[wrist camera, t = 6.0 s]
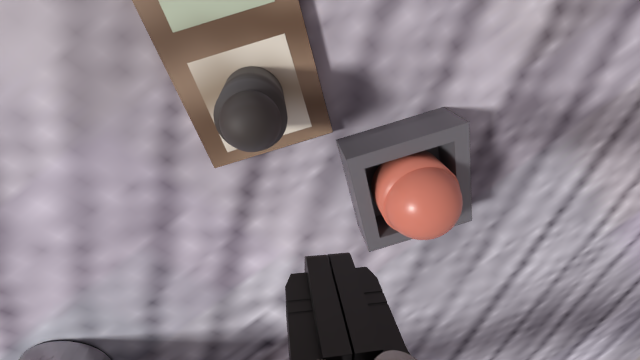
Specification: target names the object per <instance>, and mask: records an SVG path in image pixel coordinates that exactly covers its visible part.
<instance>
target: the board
mask: <svg viewBox="0 0 640 360" xmlns="http://www.w3.org/2000/svg"><path fill="white" fill-rule="evenodd" d="M132 1H133V3H134V5H135V7H136V9H137V11H138V13H139V15H140V17H141V19H142V21H143V23H144V26H145V28H146V30H147V32H148V34H149V36H150V38H151V40H152V42H153V44H154V46H155V48H156V50H157V52H158V54H159V56H160V58H161V60H162V62H163V64H164V66H165V68H166V70H167V72H168V74H169V76H170V78H171V80H172V82H173V84H174V86H175V89H176V91H177V93H178V95H179V97H180V99H181V101H182V103H183V105H184V107H185V109H186V111H187V113H188V115H189V117H190V119H191V121H192V123H193V125H194V127H195V129H196V131H197V133H198V135H199V137H200V139H201V141H202V143H203V145H204V147H205V149H206V152H207V154H208V156H209V158H210V160H211V162H212V164H213V166H214V168H217V167H220V166H224V165H227V164H230V163H233V162H237V161H240V160H243V159H246V158H250V157H253V156H256V155H260V154H263V153H266V152H269V151H273V150H276V149H279V148H282V147H286V146H289V145H292V144H296V143H299V142H302V141H305V140H309V139H312V138H315V137H318V136H322V135H325V134H328V133H331V132H333V131H332V127H331V123H330V120H329V116H328V112H327V108H326V104H325V100H324V97H323V93H322V89H321V85H320V81H319V77H318V74H317V70H316V66H315V62H314V58H313V54H312V50H311V47H310V43H309V39H308V35H307V31H306V27H305V24H304V20H303V16H302V12H301V8H300V4H299V1H298V0H132ZM247 66H256V67H261V68H264V69H266V70H268V71H269V72H271V73H272V74H273V75H274V76H275V77H276V78H277V79H278V81H279V82H280V84H281V86H282V89H283V93H284V99H285V104H286V109H287V116H288V121H287V127H286V130H285V132H284V134H283V136H282V138H281V139H280V140H279V141H278V142H277V143H276V144H275V145H273V146H272V147H270V148H268V149H265V150H262V151H258V152H245V151H241V150H238V149H236V148H235V147H233V146H231V145H230V144H228V143H227V142H226V141H225V140H224V139H223V138H222V137H221V136H220V134H219V133H218V131H217V129H216V126H215V123H214V116H213V114H214V106H215V103H216V101H217V99H218V97H219V95H220V93H221V91H222V89H223V87H224V85H225V83H226V81H227V79H228V78H229V76H230V75H231V74H232V73H233V72H235V71H236V70H238V69H240V68H243V67H247Z"/></svg>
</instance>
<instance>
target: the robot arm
mask: <svg viewBox="0 0 640 360" xmlns="http://www.w3.org/2000/svg"><path fill="white" fill-rule="evenodd" d="M285 290H286V317H287V332H288V345H289V359H290V360H416V359H415V358H414V357H412V356H411V355H410V353H409V352H408V350H407V348H406V346H405V344H404V342H403V339H402V337H401V334H400V332H399V329H398V327H397V325H396V322H395V320H394V317H393V315H392V313H391V310H390V308H389V305H387V301H386V298H385V296H384V293H383V292H382V289H381V286H380V284H379V281H378V279H377V277H376V276H375V275H374V274H373V273H372V272H371V271H370V270H369V269H368V268H367V267H360V268H355V266H354V263H353V260H352V257H351V255H350V253H339V254H328V255H317V256H305V273H296V274H291V275H290V277H289V279H288V282H287V284H286V286H285ZM19 360H111V359H110V358H109V357H108V356H107V355H106V354H105V353H103V352H102V351H100V350H98V349H96V348H94V347H92V346H89V345H85V344H82V343H77V342H70V341H55V342H47V343H43V344H39V345H36V346H34V347H31V348H30V349H28V350H27V351H25V352H24V354H23V355H22V356H21V357H20V359H19Z"/></svg>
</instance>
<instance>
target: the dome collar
mask: <svg viewBox="0 0 640 360" xmlns="http://www.w3.org/2000/svg"><path fill="white" fill-rule="evenodd" d="M336 141H337V145H338V149H339V153H340V157H341V160H342V164H343V168H344V172H345V176H346V180H347V184H348V187H349V191H350V195H351V199H352V203H353V207H354V211H355V215H356V218H357V222H358V226H359V228H360V231H361V233H362V236H363V238H364V240H365V243H366V245H367V248H368V250H369V252H371V251H374V250H377V249H381V248H384V247H387V246H390V245H394V244H397V243H400V242H404V241H407V240H410V239H412V238H409V237H407V236H404V235H402V234H401V233H399V232H398V231H396V230H394V229H393V228H391V227H390V226H389V225H388V224H387V223H386V221H385V220H384V218H383V216H382V214H381V212H380V210H379V209H378V207H377V205H376V203H375V201H374V199H373V197H372V194H371V182H372V178H373V176H374V173H375V172H376V170H377V168H378V167H379V166H380V164H382V163H385V162H388V161H391V160H395V159H398V158H401V157H405V156H408V155H411V154H414V153H418V152H421V151H424V150H425V151H428V152H430V153H431V154H433V155H434V156H435V157H436V158H437V159H438V160H439V161H440V162H441V163H442V164H444V165H445V166H446V167H447V168H448V169H449V170H450V171H451V172H452V173H453V174H454V175H455V176H456V178H457V180H458V182H459V186H460V190H461V193H462V200H463V206H462V211H461V215H460V217H459V219H458V221H457V223H456V224H455V225H454V226H456V225H459V224H463V223H466V222H469V221H472V206H471V170H470V134H469V122H468V121H466V120H465V119H463V118H461V117H460V116H458V115H456V114H455V113H453V112H451V111H450V110H448V109H446V108H445V107H442V108H439V109H436V110H433V111H429V112H426V113H423V114H419V115H416V116H413V117H410V118H406V119H403V120H400V121H397V122H393V123H390V124H387V125H384V126H380V127H377V128H374V129H370V130H367V131H364V132H361V133H357V134H354V135H351V136H348V137H344V138H341V139H338V140H336Z"/></svg>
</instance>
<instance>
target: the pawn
mask: <svg viewBox="0 0 640 360" xmlns="http://www.w3.org/2000/svg"><path fill="white" fill-rule="evenodd" d="M213 116H214V123H215V126H216V129H217V131H218V133H219V134H220V136H221V137H222V138H223V139H224V140H225V141H226V142H227V143H228V144H230V145H231V146H233V147H235V148H236V149H238V150H241V151H245V152H258V151H262V150H265V149H268V148H270V147H272V146H273V145H275V144H276V143H277V142H278V141H279V140H280V139H281V138H282V136H283V134H284V132H285V130H286V127H287V121H288V116H287V109H286V104H285V99H284V93H283V89H282V86H281V84H280V82H279V81H278V79H277V78H276V77H275V76H274V75H273V74H272V73H271V72H269V71H268V70H266V69H264V68H261V67H256V66H247V67H243V68H240V69H238V70H236V71H235V72H233V73H232V74H231V75H230V76H229V78H228V79H227V81H226V83H225V85H224V87H223V89H222V91H221V93H220V95H219V97H218V99H217V101H216V103H215V106H214V114H213Z"/></svg>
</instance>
